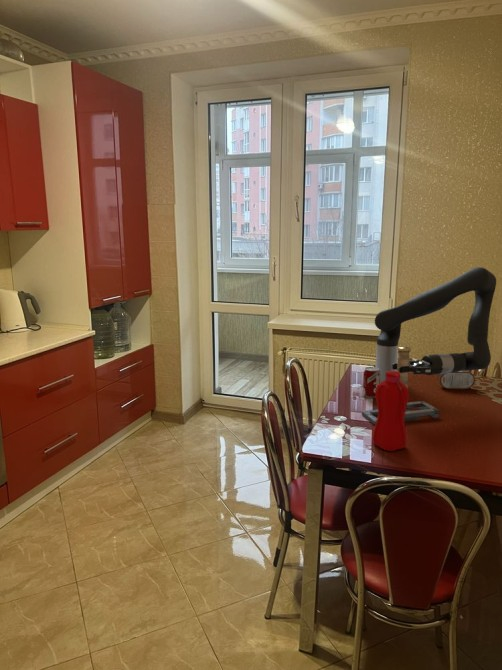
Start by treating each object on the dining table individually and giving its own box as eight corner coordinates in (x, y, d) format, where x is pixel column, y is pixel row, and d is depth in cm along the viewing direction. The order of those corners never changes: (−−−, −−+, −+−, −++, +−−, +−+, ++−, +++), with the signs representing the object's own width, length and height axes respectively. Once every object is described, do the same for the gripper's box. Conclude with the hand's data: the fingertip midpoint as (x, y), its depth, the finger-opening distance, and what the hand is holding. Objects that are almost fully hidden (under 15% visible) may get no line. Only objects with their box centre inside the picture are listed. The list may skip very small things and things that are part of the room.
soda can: (361, 397, 199) (362, 370, 197) (364, 392, 205) (365, 365, 203) (378, 399, 197) (379, 371, 194) (380, 394, 203) (381, 367, 200)
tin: (472, 387, 210) (474, 369, 208) (475, 390, 207) (476, 371, 205) (437, 387, 211) (438, 368, 210) (439, 389, 208) (440, 370, 207)
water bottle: (390, 456, 148) (394, 379, 143) (368, 442, 158) (371, 369, 152) (414, 450, 152) (419, 375, 146) (391, 437, 162) (395, 366, 156)
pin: (392, 388, 179) (394, 346, 175) (404, 386, 180) (406, 345, 176) (399, 392, 174) (401, 349, 171) (411, 390, 175) (413, 348, 172)
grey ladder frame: (374, 425, 172) (374, 417, 171) (361, 414, 181) (362, 407, 181) (438, 417, 177) (439, 410, 177) (423, 408, 187) (423, 400, 186)
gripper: (427, 349, 184) (386, 353, 180) (450, 359, 171) (406, 363, 167) (425, 368, 186) (385, 372, 182) (448, 379, 172) (405, 383, 168)
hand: (396, 368), depth 174 cm, fingers closed on pin, 4 cm apart
